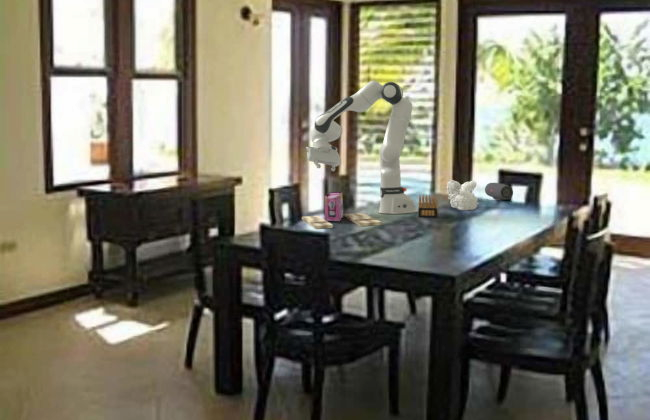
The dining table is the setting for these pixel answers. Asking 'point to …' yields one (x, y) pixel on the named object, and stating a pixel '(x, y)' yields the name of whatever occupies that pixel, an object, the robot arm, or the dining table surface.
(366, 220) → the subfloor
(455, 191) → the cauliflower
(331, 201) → the gum box
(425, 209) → the ammunition clip
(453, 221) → the dining table surface
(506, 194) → the bluetooth speaker
